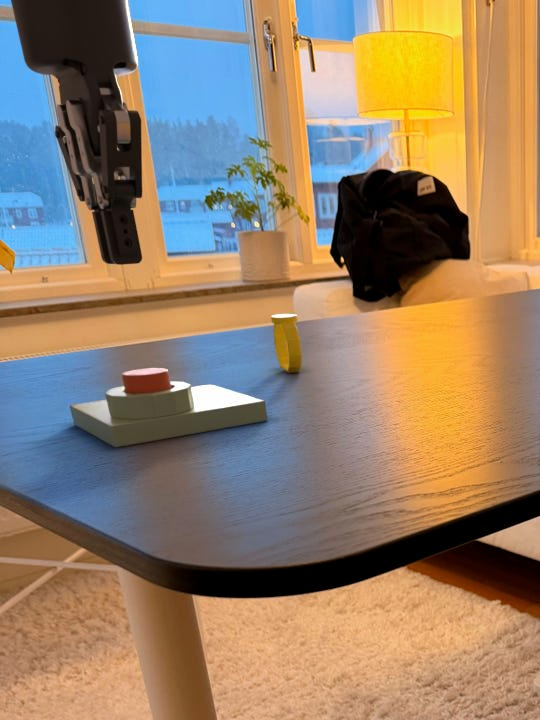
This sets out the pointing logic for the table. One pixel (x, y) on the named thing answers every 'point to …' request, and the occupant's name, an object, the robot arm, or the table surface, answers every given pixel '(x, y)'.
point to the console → (165, 413)
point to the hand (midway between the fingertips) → (122, 262)
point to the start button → (146, 380)
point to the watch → (287, 333)
